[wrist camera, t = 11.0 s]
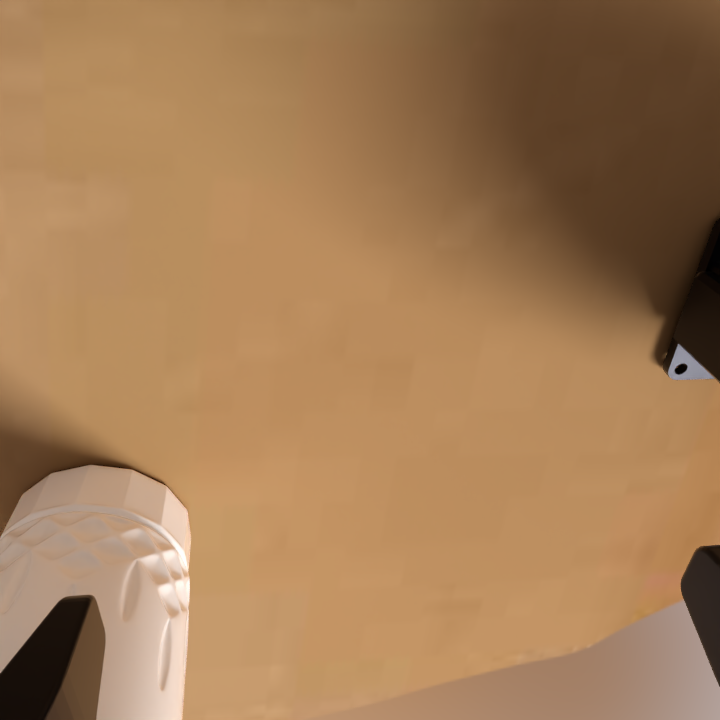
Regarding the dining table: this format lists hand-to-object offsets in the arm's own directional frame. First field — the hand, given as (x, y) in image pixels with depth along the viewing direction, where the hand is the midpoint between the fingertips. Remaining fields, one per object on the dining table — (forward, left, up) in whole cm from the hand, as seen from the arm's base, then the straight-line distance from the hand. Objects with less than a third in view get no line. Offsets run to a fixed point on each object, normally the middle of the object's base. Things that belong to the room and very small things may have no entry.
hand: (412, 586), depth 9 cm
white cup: (+9, +12, -13) cm, 20 cm away
